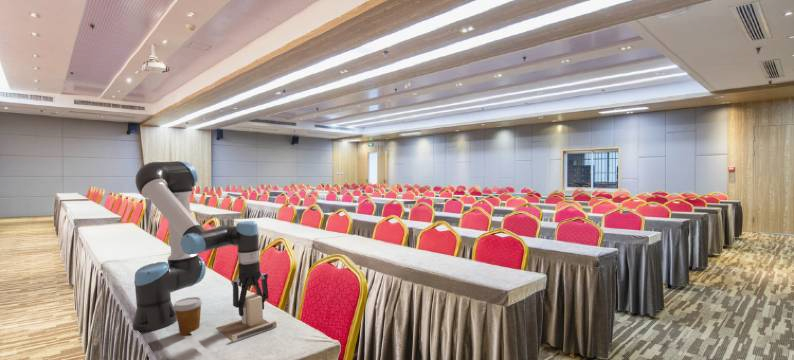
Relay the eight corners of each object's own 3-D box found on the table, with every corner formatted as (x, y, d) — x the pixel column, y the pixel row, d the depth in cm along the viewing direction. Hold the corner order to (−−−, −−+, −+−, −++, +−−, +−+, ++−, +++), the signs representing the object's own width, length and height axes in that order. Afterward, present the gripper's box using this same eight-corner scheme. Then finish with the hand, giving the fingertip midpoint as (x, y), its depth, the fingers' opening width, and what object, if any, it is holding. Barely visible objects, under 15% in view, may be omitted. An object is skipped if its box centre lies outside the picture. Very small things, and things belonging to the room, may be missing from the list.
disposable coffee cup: (197, 324, 153) (195, 295, 152) (208, 331, 147) (206, 299, 146) (171, 333, 146) (168, 302, 145) (181, 340, 140) (179, 307, 139)
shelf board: (215, 331, 146) (215, 322, 146) (257, 318, 157) (256, 310, 157) (233, 346, 134) (232, 336, 133) (276, 331, 145) (276, 321, 145)
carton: (241, 320, 152) (240, 295, 151) (254, 316, 155) (253, 292, 155) (250, 326, 146) (248, 300, 146) (263, 322, 150) (261, 296, 149)
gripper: (227, 268, 140) (231, 331, 141) (276, 258, 153) (279, 316, 154) (220, 265, 146) (224, 325, 147) (267, 255, 159) (270, 311, 160)
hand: (252, 320), depth 151 cm, fingers open, 6 cm apart
